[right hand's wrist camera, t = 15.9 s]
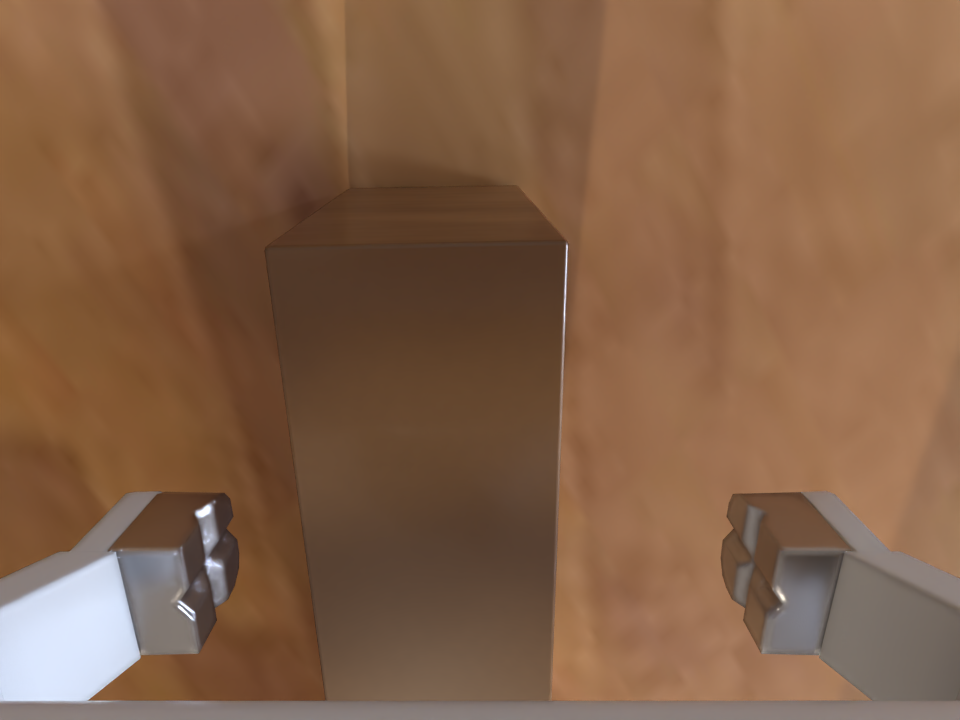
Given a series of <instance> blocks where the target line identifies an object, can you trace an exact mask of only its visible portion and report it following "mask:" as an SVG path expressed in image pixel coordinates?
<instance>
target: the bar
mask: <svg viewBox="0 0 960 720" xmlns="http://www.w3.org/2000/svg"><path fill="white" fill-rule="evenodd" d="M568 246H569V244H568V242H567V240H566V239H565V238H564V237H563V236H562V235H561V233H560V232H559V231H558V230H557V229H556V228H555V227H554V226H553V225H552V223H551V222H550V221H549V220H548V219H547V218H546V217H545V216H544V215H543V213H542V212H541V211H540V210H539V209H538V208H537V207H536V206H535V205H534V203H533V202H532V201H531V200H530V199H529V198H528V197H527V196H526V195H525V193H524V192H523V191H522V190H521V189H520V188H519V187H518V186H460V187H402V188H350V189H348V190H346V191H345V192H343V193H342V194H341V195H339V196H338V197H336V198H335V199H333V200H332V201H331V202H329V203H328V204H326V205H325V206H323V207H322V208H321V209H319V210H318V211H316V212H315V213H313V214H312V215H311V216H309V217H308V218H306V219H305V220H303V221H302V222H301V223H299V224H298V225H296V226H295V227H293V228H292V229H291V230H289V231H288V232H286V233H285V234H283V235H282V236H280V237H279V238H278V239H276V240H275V241H273V242H272V243H270V244H269V245H268V246H266V247H265V257H266V265H267V272H268V279H269V287H270V294H271V301H272V309H273V316H274V324H275V331H276V338H277V346H278V353H279V361H280V368H281V375H282V383H283V390H284V397H285V405H286V412H287V420H288V427H289V434H290V442H291V449H292V456H293V464H294V471H295V479H296V486H297V493H298V501H299V508H300V515H301V523H302V530H303V538H304V545H305V552H306V560H307V567H308V575H309V582H310V589H311V597H312V604H313V611H314V619H315V626H316V634H317V641H318V648H319V656H320V663H321V670H322V678H323V685H324V693H325V700H326V701H551V697H552V671H553V644H554V618H555V591H556V564H557V538H558V511H559V485H560V458H561V432H562V405H563V378H564V352H565V325H566V299H567V272H568Z"/></svg>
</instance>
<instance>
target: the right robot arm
mask: <svg viewBox="0 0 960 720" xmlns="http://www.w3.org/2000/svg"><path fill="white" fill-rule="evenodd" d="M232 518H233V511H232V506H231V501H230V498H229V497H228V496H227V495H226V494H225V493H202V492H161V491H150V492H131V493H126V494H125V495H124V496H123V497H122V498H121V499H120V500H119V501H118V502H117V503H116V504H115V505H114V506H113V507H112V508H111V509H110V510H109V512H108V513H107V514H106V515H105V516H104V517H103V518H102V519H101V520H100V521H99V522H98V523H97V524H96V525H95V526H94V527H93V528H92V529H91V530H90V531H89V532H88V533H87V534H86V535H85V536H84V537H83V538H82V539H81V540H80V541H79V542H78V543H77V544H76V545H75V546H74V547H73V548H72V550H71V551H70V552H57V553H55V554H53V555H51V556H49V557H46V558H44V559H42V560H40V561H38V562H35V563H33V564H31V565H29V566H27V567H24V568H22V569H20V570H18V571H16V572H14V573H11V574H9V575H7V576H5V577H3V578H0V720H960V579H959V578H957V577H955V576H953V575H951V574H949V573H946V572H944V571H942V570H940V569H938V568H935V567H933V566H931V565H929V564H927V563H925V562H922V561H920V560H918V559H916V558H914V557H911V556H909V555H907V554H905V553H903V552H890V550H889V549H888V548H887V547H886V546H885V545H884V544H883V543H882V542H881V541H880V540H879V539H878V538H877V537H876V536H875V535H874V534H873V533H872V532H871V531H870V530H869V529H868V528H867V527H866V526H865V525H864V524H863V523H862V522H861V521H860V520H859V519H858V518H857V517H856V515H855V514H854V513H853V512H852V511H851V510H850V509H849V508H848V507H847V506H846V505H845V504H844V503H843V502H842V501H841V500H840V499H839V498H838V497H837V496H836V495H835V494H833V493H830V492H828V491H815V492H791V493H752V494H733V495H732V497H731V499H730V502H729V505H728V511H727V518H728V520H729V521H730V523H731V524H732V526H733V528H734V529H733V530H732V531H731V532H730V533H729V534H728V535H727V536H726V537H725V538H724V539H723V543H722V551H721V566H722V576H723V579H724V582H725V586H726V588H727V590H728V592H729V594H730V596H731V598H732V600H734V601H735V602H737V603H738V604H740V605H741V606H743V607H744V608H745V613H744V619H743V621H744V623H745V625H746V626H747V628H748V630H749V632H750V634H751V636H752V637H753V639H754V641H755V643H756V645H757V647H758V649H759V650H760V652H761V654H795V655H820V656H819V658H820V659H821V660H822V661H824V662H825V663H826V664H827V665H829V666H830V667H831V668H832V669H834V670H835V671H836V672H838V673H839V674H840V675H841V676H843V677H844V678H845V679H846V680H848V681H849V682H850V683H851V684H853V685H854V686H855V687H856V688H858V689H859V690H860V691H861V692H863V693H864V694H865V695H866V696H868V697H869V698H870V699H871V700H873V701H88V700H89V699H90V698H91V697H93V696H94V695H95V694H96V693H98V692H99V691H100V690H101V689H103V688H104V687H105V686H106V685H108V684H109V683H110V682H111V681H113V680H114V679H115V678H116V677H118V676H119V675H120V674H122V673H123V672H124V671H125V670H127V669H128V668H129V667H130V666H132V665H133V664H134V663H135V662H137V661H138V660H139V659H140V658H141V656H140V655H164V654H199V652H200V651H201V649H202V647H203V645H204V643H205V641H206V639H207V638H208V636H209V634H210V632H211V630H212V628H213V626H214V625H215V623H216V621H217V618H216V613H215V608H216V607H217V606H219V605H220V604H222V603H223V602H225V601H226V600H228V598H229V596H230V594H231V592H232V590H233V588H234V586H235V582H236V578H237V574H238V569H239V549H238V542H237V539H236V538H235V537H234V536H233V535H232V534H231V533H230V532H229V531H228V530H227V529H226V528H227V526H228V525H229V523H230V521H231V520H232Z"/></svg>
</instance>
